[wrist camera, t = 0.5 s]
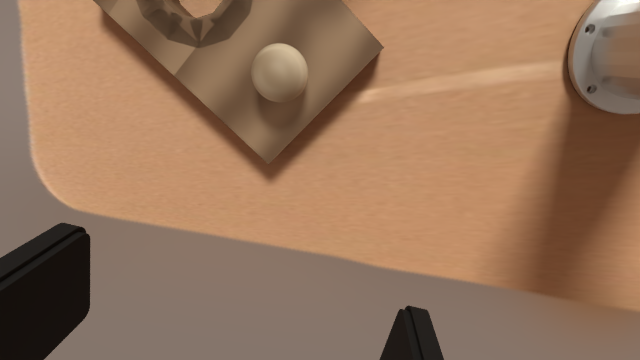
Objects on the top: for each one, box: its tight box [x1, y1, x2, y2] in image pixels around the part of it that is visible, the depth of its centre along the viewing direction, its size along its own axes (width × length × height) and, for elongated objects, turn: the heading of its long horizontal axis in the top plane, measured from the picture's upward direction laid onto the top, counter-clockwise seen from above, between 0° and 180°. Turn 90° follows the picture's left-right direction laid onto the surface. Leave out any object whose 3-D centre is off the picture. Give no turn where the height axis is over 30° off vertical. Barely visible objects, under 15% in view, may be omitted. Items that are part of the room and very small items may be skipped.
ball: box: [251, 43, 308, 103], centre depth 31 cm, size 5×5×5 cm
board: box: [93, 0, 384, 164], centre depth 34 cm, size 24×16×4 cm, turn 45°
